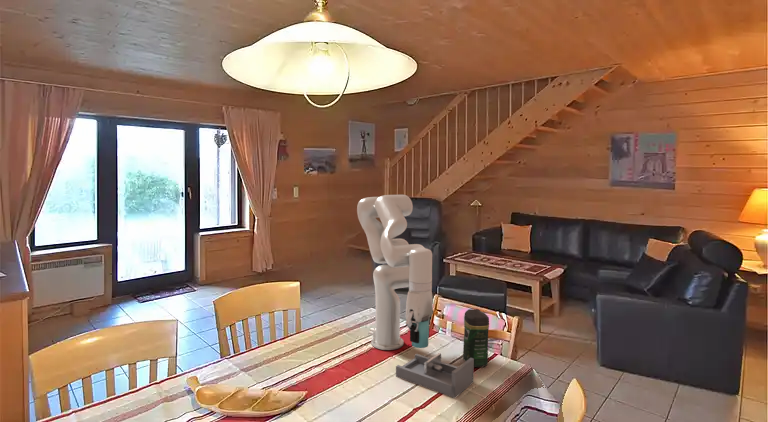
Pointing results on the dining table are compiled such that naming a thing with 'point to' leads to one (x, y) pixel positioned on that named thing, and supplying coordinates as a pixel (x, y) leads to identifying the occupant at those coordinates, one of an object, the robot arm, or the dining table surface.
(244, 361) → the dining table surface
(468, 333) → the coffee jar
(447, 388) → the grey divided tray
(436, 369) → the pusher plate
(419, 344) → the spice jar
